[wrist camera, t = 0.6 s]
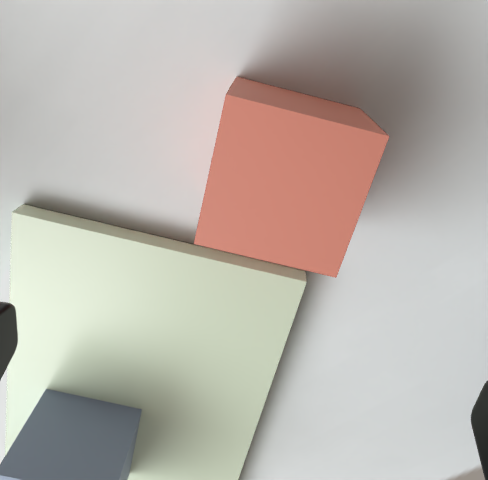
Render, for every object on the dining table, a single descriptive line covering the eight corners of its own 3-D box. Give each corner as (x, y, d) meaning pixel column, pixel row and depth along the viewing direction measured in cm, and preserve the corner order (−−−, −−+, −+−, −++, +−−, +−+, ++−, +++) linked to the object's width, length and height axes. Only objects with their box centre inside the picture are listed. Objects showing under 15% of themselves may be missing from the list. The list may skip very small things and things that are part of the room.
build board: (305, 271, 21) (306, 281, 21) (228, 495, 28) (227, 511, 27) (23, 204, 21) (11, 212, 20) (13, 451, 27) (4, 465, 27)
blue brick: (142, 409, 24) (113, 498, 20) (129, 473, 26) (100, 567, 22) (46, 388, 24) (-6, 474, 19) (41, 455, 26) (-7, 546, 22)
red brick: (360, 108, 18) (389, 136, 14) (321, 221, 21) (336, 277, 16) (236, 76, 18) (225, 94, 14) (210, 194, 20) (193, 243, 16)
